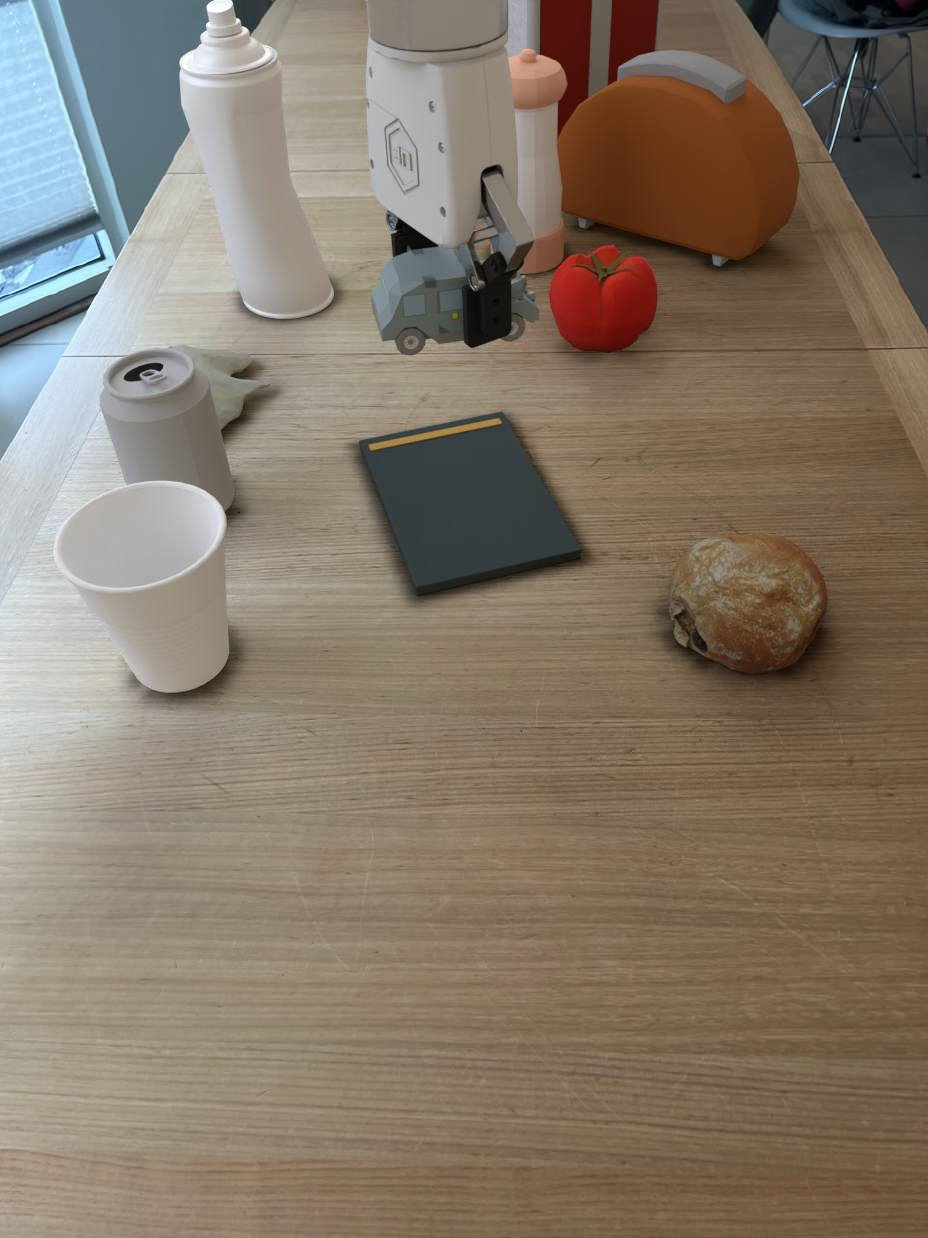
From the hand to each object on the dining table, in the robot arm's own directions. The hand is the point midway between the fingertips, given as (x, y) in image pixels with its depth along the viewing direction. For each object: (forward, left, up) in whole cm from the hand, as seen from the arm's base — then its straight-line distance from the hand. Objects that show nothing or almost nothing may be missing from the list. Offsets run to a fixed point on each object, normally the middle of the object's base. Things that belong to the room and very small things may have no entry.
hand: (451, 310), depth 69 cm
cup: (-22, -10, -16) cm, 29 cm away
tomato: (+18, +18, -16) cm, 30 cm away
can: (-20, +6, -16) cm, 26 cm away
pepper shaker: (+17, +35, -16) cm, 42 cm away
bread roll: (+14, -18, -16) cm, 28 cm away
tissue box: (+29, +61, -16) cm, 70 cm away
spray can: (-8, +37, -16) cm, 41 cm away
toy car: (0, 0, -1) cm, 1 cm away
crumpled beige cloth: (-18, +19, -16) cm, 31 cm away
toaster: (+32, +35, -16) cm, 50 cm away
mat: (0, 0, -16) cm, 16 cm away
